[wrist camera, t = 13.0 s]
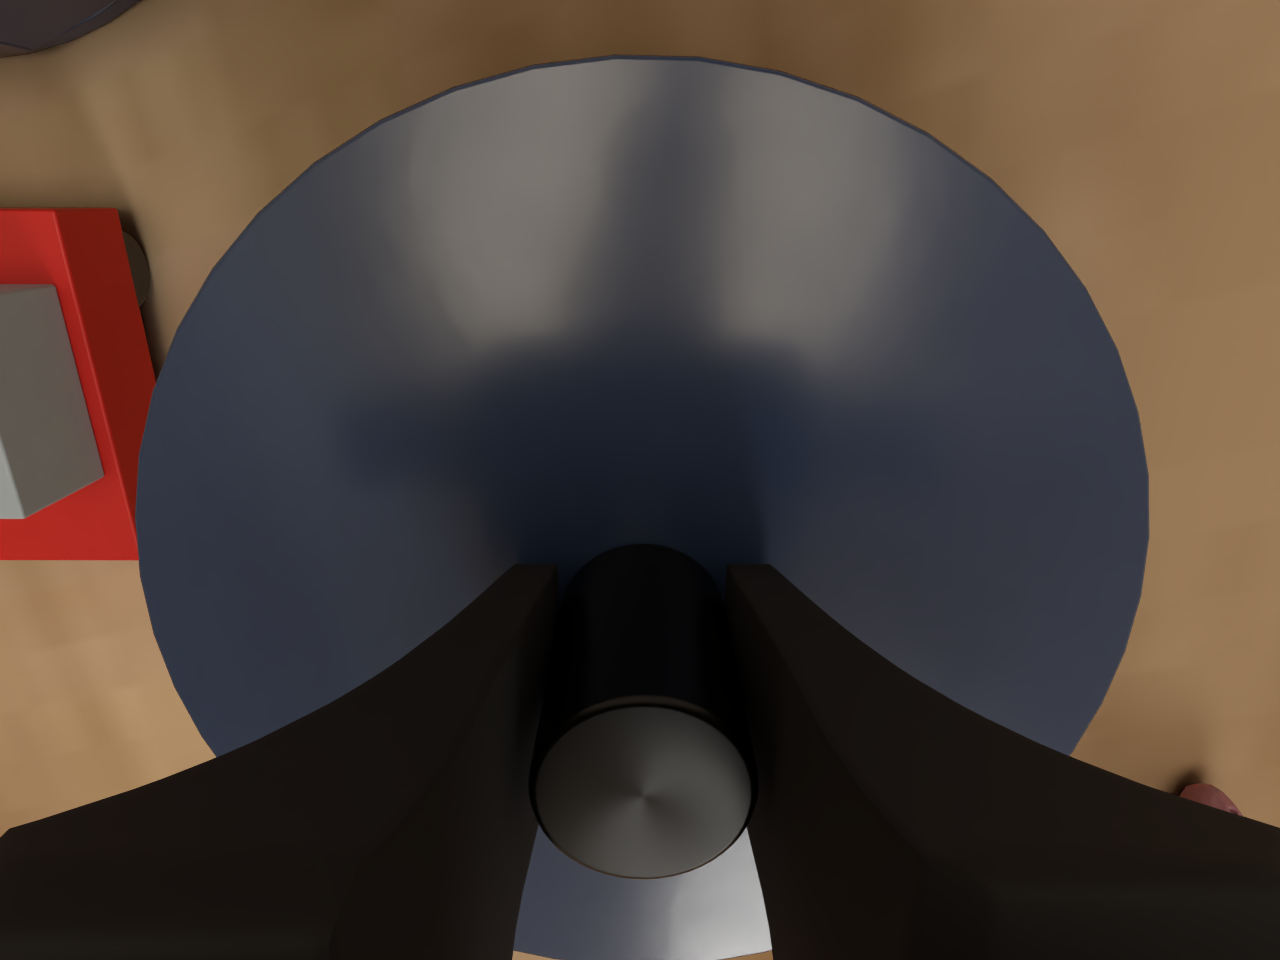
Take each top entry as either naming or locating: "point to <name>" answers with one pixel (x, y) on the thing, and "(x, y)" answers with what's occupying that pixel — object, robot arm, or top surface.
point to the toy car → (71, 384)
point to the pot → (51, 22)
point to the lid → (642, 448)
